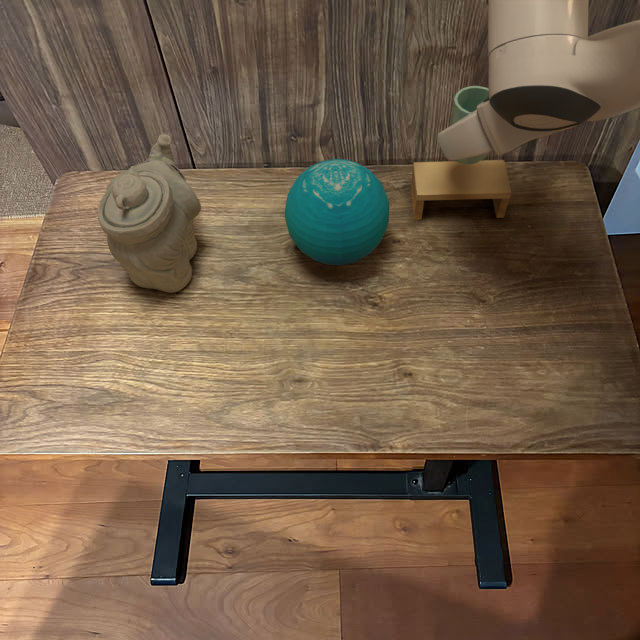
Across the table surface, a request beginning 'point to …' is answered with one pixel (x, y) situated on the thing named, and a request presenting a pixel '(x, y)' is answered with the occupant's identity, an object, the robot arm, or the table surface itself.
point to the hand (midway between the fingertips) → (468, 123)
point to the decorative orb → (337, 212)
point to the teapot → (152, 221)
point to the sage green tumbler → (468, 110)
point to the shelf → (460, 183)
